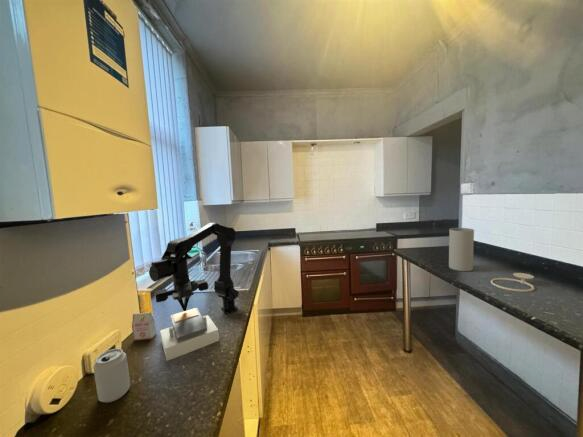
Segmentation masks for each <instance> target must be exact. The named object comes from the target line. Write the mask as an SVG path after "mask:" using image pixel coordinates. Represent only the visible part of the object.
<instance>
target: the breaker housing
mask: <svg viewBox="0 0 583 437" xmlns="http://www.w3.org/2000/svg"><path fill="white" fill-rule="evenodd" d="M201 317H202V318H203V321H204V323H205V325H206V327H207V331H206V332H204V333H201V334H198V335H195V336H193V337H190V338H187V339H184V340H181V341H179V342H177V338H176V335H175V332H174V330H173V325H172V326H168V327H166V328H163V329H161V330H159V331H160V340H161V343H162V344H161V345H162V348H163V352H164V356H165V360H166V362H168V361H170V360H174V359H176V358H178V357H182V356H183V355H186V354H189V353H190V352H194V351H196V350H199V349H202V348H204V347H206V346H209V345H212V344H214V343H217V342H219V341H220V334H219V329H218V327H217V326H216V324H215V323H214V322H213V320H212V319H211V317H210V316H209V315H208V314H207V315H201Z"/></svg>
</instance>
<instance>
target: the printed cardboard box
mask: <svg viewBox="0 0 583 437" xmlns="http://www.w3.org/2000/svg"><path fill="white" fill-rule="evenodd" d="M131 329H132V330H131V331H132V336H133V338H132V339H133V341H141V340H142V341H143V340H151V339H153V338H154V337H155V336H156V334H157V331H156V323H155V319H154V317H153V315H152V312H141V313H140V312H139V313H133V314H132V323H131Z"/></svg>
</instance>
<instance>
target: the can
mask: <svg viewBox="0 0 583 437" xmlns="http://www.w3.org/2000/svg"><path fill="white" fill-rule="evenodd" d="M92 368H93V374H94V380H95V385H96V394H97V399H98V401H99V402H101V403H112V402H115V401H117V400H119V399H121V398H122V397H123V396H125V394H126V393H127V392H128V390H130V387H131V379H130V374H129V373H130V372H129V365H128V358H127V353H126V352H124V350H123V349H122V348H113V349H109V350H106V351H105V352H103V353H101V354H100V355H98V356H97V357H96V358H95V363H94V364H93V367H92Z"/></svg>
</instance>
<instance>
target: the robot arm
mask: <svg viewBox="0 0 583 437" xmlns="http://www.w3.org/2000/svg"><path fill="white" fill-rule="evenodd" d="M211 235H214V236H216V241H217V243H218V245H219V249H220V252H219V274H218V275H219V277H218V279H217V280H215V281H214V287H213V290H214V292H215V294H216V295H217V297H218V298H221V299H222V307H220V309H221V311H222V312H223V313H224V314H228V313H230V312H235V311H237V310H239V308H238V306H237V305H236V299H237V298H238V297H239V294H240V293H239V291H238V290H236V289H235V288H234V287H235V286H234V281H233V279H232V277H231V263H232V262H231V261H232V260H231V259H232V246H233V244H234V242H235V241H236V240H235V239H236V230H235V228H233V227H231V226H230V227H227V226H225V225H222V224H219V223H217V222H208V223H207V224H206V225H204V226H203V227H200V228H199V229H197V230H195V231H194V232H192V233H190V234H189V235H187V236H184V237H178V238H175V239H174V240H170V241H169V242H168V243H166V244H167V245H166V249H165V251H164V253H163V255H162V256H161V260H158V261H157V260H156V261H152V262H151V265H150V267H149V271H148V274H149V278H150V279H151V281H153V282H159V281H162V280H165V279H167V278H170V277H171V276H172V282H173V285H172V286H173V289H170V290H167V288H162V289H158V290H155V291H154V299H155V302H156V303H161V302H165V301H167V300H168V299H169V297H170V296H171V297H172V299H173V301H176V300H177V302H178V303H179V305H180V307H181V309H182V312H183V311H187V308H188V304H189V301H190V298H191V297H192V296H193V295H195V292H196V291H197V290H198V291H200V292H203V291H206V290H209V283H208V281H207V280H205V279H203V278H202V279H199V280H190V275H189V266H188V260H191V259H193V256H191V255H189V253H190V252H191V251H192V250H193V248H194V246H195V245H197V244H199V243H200V242H203V240H205V239H206V238H208V237H209V236H211Z"/></svg>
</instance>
